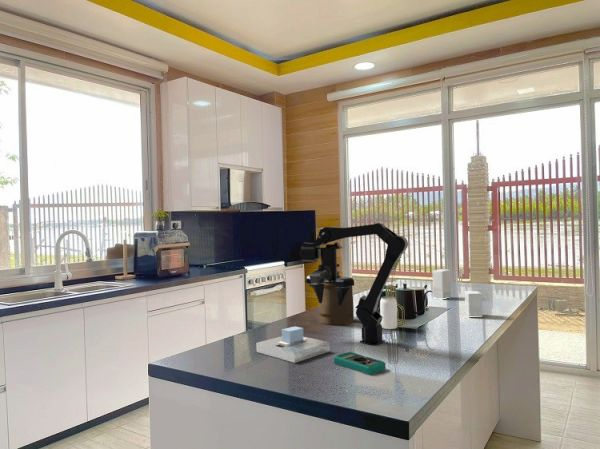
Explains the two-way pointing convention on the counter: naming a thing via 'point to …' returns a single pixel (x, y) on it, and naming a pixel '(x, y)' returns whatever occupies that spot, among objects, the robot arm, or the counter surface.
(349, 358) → the digital multimeter
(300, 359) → the white flat slab
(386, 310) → the can
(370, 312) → the robot arm
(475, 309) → the small box
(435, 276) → the skincare box
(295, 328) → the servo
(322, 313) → the wooden container
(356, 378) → the counter surface
